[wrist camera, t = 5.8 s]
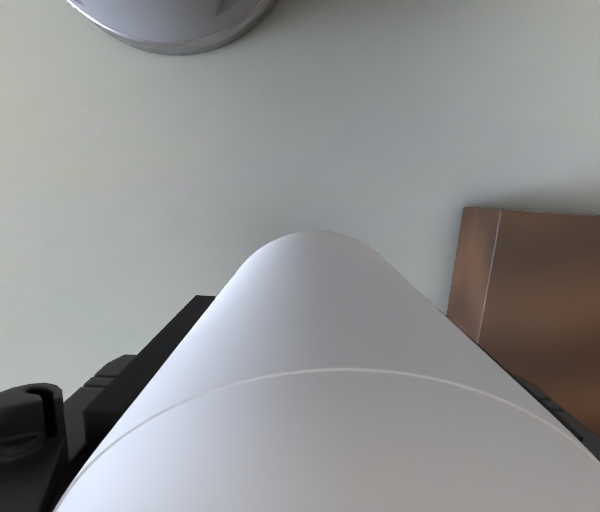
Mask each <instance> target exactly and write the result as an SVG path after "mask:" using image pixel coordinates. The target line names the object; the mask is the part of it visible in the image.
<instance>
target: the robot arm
mask: <svg viewBox="0 0 600 512" xmlns="http://www.w3.org/2000/svg"><path fill="white" fill-rule="evenodd" d="M67 1H68V2H69V3H71V4H72V5H73V6H74V7H75V8H77V9H78V10H79V11H80V12H81V13H82V14H84V15H85V16H86V17H87V18H89V19H90V20H91V21H92V22H93V23H95V24H96V25H97V26H98V27H100V28H101V29H103V30H104V31H105V32H107V33H108V34H110V35H111V36H113V37H115V38H117V39H118V40H120V41H122V42H124V43H127V44H129V45H131V46H133V47H136V48H139V49H142V50H145V51H149V52H154V53H158V54H166V55H190V54H198V53H202V52H207V51H210V50H213V49H216V48H220V47H222V46H224V45H226V44H228V43H231V42H232V41H234V40H236V39H237V38H239V37H241V36H242V35H244V34H245V33H246V32H248V31H249V30H250V29H252V28H253V27H254V26H255V25H256V24H257V23H258V22H260V21H261V20H262V19H263V18H264V16H265V15H266V14H267V13H268V12H269V11H270V10H271V8H272V7H273V6H274V4H275V3H276V2H277V0H67ZM214 300H215V296H200V295H196V296H195V297H194V298H193V299H192V300H191V301H190V302H189V303H188V304H187V305H186V306H185V307H184V308H183V309H182V310H181V311H180V312H179V313H178V314H177V315H176V316H175V317H174V318H173V319H172V320H171V321H170V322H169V323H168V324H167V325H166V326H165V327H164V328H163V329H162V330H161V331H160V332H159V333H158V334H157V335H156V336H155V337H154V338H153V339H152V340H151V342H150V343H149V344H148V345H147V346H146V347H145V348H144V349H143V350H142V351H141V352H140V353H139V354H138V355H123V356H121V357H119V358H117V359H115V360H113V361H111V362H109V363H107V364H106V365H105V366H104V367H103V368H102V369H100V370H99V371H98V372H97V373H96V374H95V375H94V377H92V378H90V379H89V380H88V381H87V382H86V383H85V384H84V386H83V387H80V388H79V389H78V390H77V391H76V392H75V393H74V394H73V395H72V396H71V397H69V398H68V399H67V400H66V401H65V402H64V403H63V395H62V390H61V389H60V388H59V387H58V386H57V385H53V384H48V383H36V384H27V385H23V386H18V387H14V388H11V389H8V390H5V391H3V392H0V512H53V510H54V509H55V507H56V505H57V504H58V502H59V500H60V499H61V497H62V496H63V494H64V493H65V491H66V490H67V488H68V487H69V485H70V484H71V483H72V481H73V480H74V478H75V477H76V476H77V474H78V473H79V471H80V470H81V469H82V467H83V466H84V464H85V463H86V462H87V460H88V459H89V458H90V457H91V455H92V454H93V453H94V451H95V450H96V449H97V447H98V446H99V445H100V444H101V442H102V441H103V440H104V438H105V437H106V436H107V435H108V433H109V432H110V431H111V430H112V428H113V427H114V426H115V425H116V423H117V422H118V421H119V419H120V418H121V417H122V416H123V414H124V413H125V412H126V411H127V409H128V408H129V407H130V406H131V404H132V403H133V402H134V401H135V399H136V398H137V397H138V396H139V394H140V393H141V392H142V391H143V389H144V388H145V387H146V385H147V384H148V383H149V382H150V380H151V379H152V378H153V377H154V375H155V374H156V373H157V372H158V370H159V369H160V368H161V367H162V365H163V364H164V363H165V362H166V360H167V359H168V358H169V357H170V355H171V354H172V353H173V351H174V350H175V349H176V348H177V346H178V345H179V344H180V343H181V341H182V340H183V339H184V338H185V336H186V335H187V334H188V333H189V331H190V330H191V329H192V328H193V326H194V325H195V324H196V322H197V321H198V320H199V319H200V317H201V316H202V315H203V314H204V312H205V311H206V310H207V309H208V307H209V306H210V305H211V304H212V302H213V301H214ZM438 310H439V309H438ZM439 311H440V310H439ZM446 317H447V316H446ZM447 318H448V317H447ZM448 319H449V318H448ZM449 320H450V319H449ZM450 321H451V320H450ZM451 322H452V321H451ZM452 323H453V322H452ZM454 324H455V323H454ZM455 325H456V324H455ZM456 326H457V325H456ZM457 327H458V326H457ZM458 328H459V327H458ZM459 329H460V328H459ZM460 330H461V329H460ZM461 331H462V330H461ZM462 332H463V333H464V334H465V335H466V336H468V335H467V334H466V333H465V332H464V331H462ZM468 337H469V336H468ZM469 338H470V337H469ZM470 339H471V340H472V341H473V342H474V343H475V344H476V345H477V346H478V347H479V348H481V349H482V350H483V351H484V352H485V353H486V354H487V355H488V356H489V357H490V358H491V359H492V360H493V361H495V362H496V363H497V364H498V365H499V366H500V367H501V368H502V369H503V370H504V371H505V372H506V373H508V374H509V375H510V376H511V377H512V378H513V379H514V380H515V381H516V382H517V383H518V384H519V385H520V386H522V387H523V388H524V389H525V390H526V391H527V392H528V393H529V394H530V395H531V396H532V397H533V398H535V399H536V400H537V401H538V402H539V403H540V404H541V405H542V406H543V407H544V408H545V409H546V410H547V411H549V412H550V413H551V414H552V415H553V416H554V417H555V418H556V419H557V420H558V421H559V422H560V423H561V424H562V425H563V426H564V427H566V428H567V429H568V430H569V431H570V432H571V433H572V434H573V435H574V436H575V437H576V438H577V439H578V440H579V441H580V442H581V443H582V444H583V445H584V446H585V447H586V448H587V449H588V450H589V451H590V452H591V453H592V454H593V455H594V456H595V458H596V459H597V460H598V461H599V462H600V439H599V438H598V437H597V436H596V435H595V434H593V433H592V432H591V431H590V430H589V429H587V428H586V427H585V426H584V425H583V424H581V423H580V422H579V421H578V420H577V419H575V418H574V417H573V416H572V415H571V414H570V413H568V412H565V411H564V408H562V407H561V406H560V405H559V404H558V403H556V402H555V401H552V400H551V398H550V397H549V396H548V395H547V394H546V393H544V392H543V391H542V390H541V389H540V388H539V387H537V386H536V385H534V384H532V383H531V382H529V381H527V380H525V379H524V378H522V377H520V376H518V375H512V374H511V373H510V372H509V371H508V370H507V369H506V368H504V367H503V366H502V365H501V364H500V363H499V362H498V361H496V360H495V359H494V358H493V357H492V356H491V355H490V354H489V353H487V352H486V351H485V350H484V349H483V348H482V347H481V346H479V345H478V344H477V343H476V342H475V341H474V340H473V339H472V338H470Z"/></svg>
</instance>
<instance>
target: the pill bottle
mask: <svg viewBox="0 0 600 512" xmlns="http://www.w3.org/2000/svg"><path fill="white" fill-rule="evenodd" d="M53 512H600V462H599V461H598V460H597V459H596V458H595V456H594V455H593V454H592V453H591V452H590V451H589V450H588V449H587V448H586V447H585V446H584V445H583V444H582V443H581V442H580V441H579V440H578V439H577V438H576V437H575V436H574V435H573V434H572V433H571V432H570V431H569V430H568V429H567V428H566V427H564V426H563V425H562V424H561V423H560V422H559V421H558V420H557V419H556V418H555V417H554V416H553V415H552V414H551V413H550V412H549V411H547V410H546V409H545V408H544V407H543V406H542V405H541V404H540V403H539V402H538V401H537V400H536V399H535V398H533V397H532V396H531V395H530V394H529V393H528V392H527V391H526V390H525V389H524V388H523V387H522V386H520V385H519V384H518V383H517V382H516V381H515V380H514V379H513V378H512V377H511V376H510V375H509V374H508V373H506V372H505V371H504V370H503V369H502V368H501V367H500V366H499V365H498V364H497V363H496V362H495V361H493V360H492V359H491V358H490V357H489V356H488V355H487V354H486V353H485V352H484V351H483V350H482V349H481V348H479V347H478V346H477V345H476V344H475V343H474V342H473V341H472V340H471V339H470V338H469V337H468V336H466V335H465V334H464V333H463V332H462V331H461V330H460V329H459V328H458V327H457V326H456V325H455V324H454V323H452V322H451V321H450V320H449V319H448V318H447V317H446V316H445V315H444V314H443V313H442V312H441V311H439V310H438V309H437V308H436V307H435V306H434V305H433V304H432V303H431V302H430V301H429V300H428V299H426V298H425V297H424V296H423V295H422V294H421V293H420V292H419V291H418V290H417V289H416V288H415V287H414V286H412V285H411V284H410V283H409V282H408V281H407V280H406V279H405V278H404V277H403V276H402V275H401V274H399V273H398V272H397V271H396V270H395V269H394V268H393V267H392V266H391V265H390V264H389V263H388V262H387V261H385V260H384V259H383V258H382V257H381V256H380V255H379V254H378V253H377V252H375V251H374V250H373V249H371V248H370V247H368V246H367V245H365V244H363V243H362V242H360V241H358V240H356V239H353V238H351V237H348V236H345V235H342V234H338V233H334V232H328V231H302V232H296V233H292V234H289V235H285V236H283V237H280V238H278V239H276V240H273V241H272V242H270V243H268V244H266V245H264V246H263V247H261V248H260V249H259V250H257V251H256V252H255V253H253V254H252V255H251V256H250V257H249V258H248V259H247V260H246V261H245V262H244V263H243V265H242V266H241V267H240V268H239V270H238V271H237V272H236V273H235V275H234V276H233V277H232V278H231V280H230V281H229V282H228V283H227V285H226V286H225V287H224V288H223V290H222V291H221V292H220V294H219V295H218V296H217V297H216V299H215V300H214V301H213V302H212V304H211V305H210V306H209V307H208V309H207V310H206V311H205V312H204V314H203V315H202V316H201V317H200V319H199V320H198V321H197V322H196V324H195V325H194V326H193V328H192V329H191V330H190V331H189V333H188V334H187V335H186V336H185V338H184V339H183V340H182V341H181V343H180V344H179V345H178V346H177V348H176V349H175V350H174V351H173V353H172V354H171V355H170V357H169V358H168V359H167V360H166V362H165V363H164V364H163V365H162V367H161V368H160V369H159V370H158V372H157V373H156V374H155V375H154V377H153V378H152V379H151V380H150V382H149V383H148V384H147V385H146V387H145V388H144V389H143V391H142V392H141V393H140V394H139V396H138V397H137V398H136V399H135V401H134V402H133V403H132V404H131V406H130V407H129V408H128V409H127V411H126V412H125V413H124V414H123V416H122V417H121V418H120V419H119V421H118V422H117V423H116V425H115V426H114V427H113V428H112V430H111V431H110V432H109V433H108V435H107V436H106V437H105V438H104V440H103V441H102V442H101V444H100V445H99V446H98V447H97V449H96V450H95V451H94V453H93V454H92V455H91V457H90V458H89V459H88V460H87V462H86V463H85V464H84V466H83V467H82V469H81V470H80V471H79V473H78V474H77V476H76V477H75V478H74V480H73V481H72V483H71V484H70V485H69V487H68V488H67V490H66V491H65V493H64V494H63V496H62V497H61V499H60V500H59V502H58V504H57V505H56V507H55V509H54V510H53Z"/></svg>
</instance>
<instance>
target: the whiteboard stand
mask: <svg viewBox="0 0 600 512" xmlns="http://www.w3.org/2000/svg"><path fill="white" fill-rule="evenodd" d="M447 317H448V318H449V319H450V320H451V321H452V322H453V323H455V324H456V325H457V326H458V327H459V328H460V329H461V330H462V331H464V332H465V333H466V334H467V335H468V336H469V337H470V338H472V339H473V340H474V341H475V342H476V343H477V344H478V345H479V346H481V347H482V348H483V349H484V350H485V351H486V352H487V353H489V354H490V355H491V356H492V357H493V358H494V359H495V360H496V361H498V362H499V363H500V364H501V365H502V366H503V367H504V368H506V369H507V370H508V371H509V372H510V373H511V374H512V375H518V376H520V377H522V378H524V379H525V380H527V381H529V382H531V383H532V384H534V385H536V386H537V387H539V388H540V389H541V390H542V391H543V392H544V393H546V394H547V395H548V396H549V397H550V398H551V400H552V401H555V402H556V403H558V404H559V405H560V406H561V407H562V408H564V411H565V412H568V413H570V414H571V415H572V416H573V417H574V418H575V419H577V420H578V421H579V422H580V423H581V424H583V425H584V426H585V427H586V428H587V429H589V430H590V431H591V432H592V433H593V434H595V435H596V436H597V437H598V438H599V439H600V215H591V214H574V213H557V212H540V211H524V210H507V209H490V208H473V207H464V211H463V217H462V223H461V230H460V236H459V242H458V249H457V255H456V261H455V268H454V274H453V280H452V286H451V293H450V299H449V305H448V312H447Z"/></svg>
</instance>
